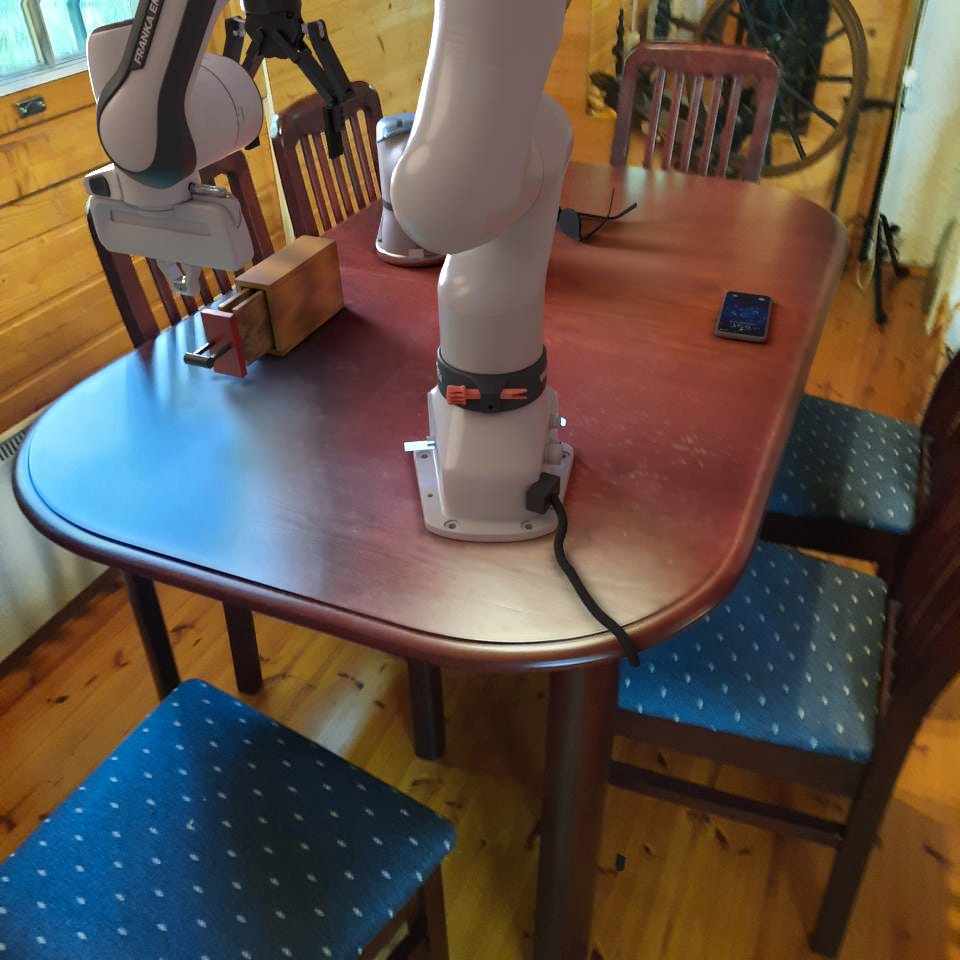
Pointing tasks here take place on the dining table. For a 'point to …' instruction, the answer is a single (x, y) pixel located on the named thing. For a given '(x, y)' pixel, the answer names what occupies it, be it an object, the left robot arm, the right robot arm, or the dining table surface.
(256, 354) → the drawer
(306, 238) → the cabinet
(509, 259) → the right robot arm
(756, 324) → the smartphone
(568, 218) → the sunglasses
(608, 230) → the dining table surface
